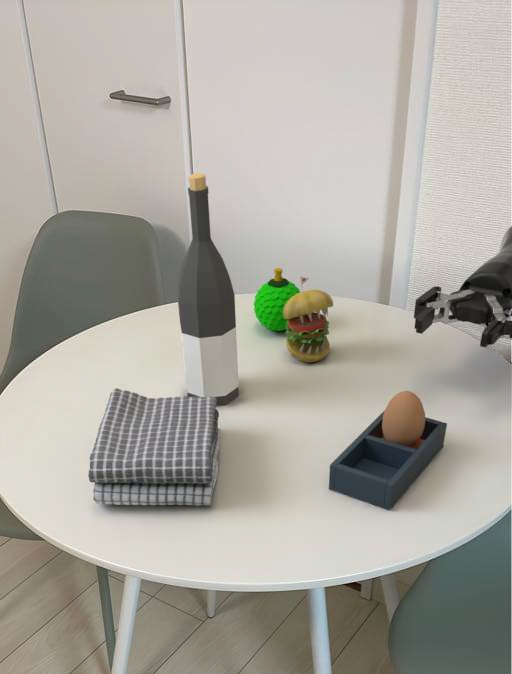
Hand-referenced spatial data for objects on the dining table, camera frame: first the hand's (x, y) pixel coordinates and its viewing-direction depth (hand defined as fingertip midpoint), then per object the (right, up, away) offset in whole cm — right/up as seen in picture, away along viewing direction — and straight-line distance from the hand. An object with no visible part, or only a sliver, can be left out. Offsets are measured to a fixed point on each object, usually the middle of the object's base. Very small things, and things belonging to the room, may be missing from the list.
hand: (450, 333), depth 95 cm
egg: (-6, -15, +1) cm, 16 cm away
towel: (-37, -17, +2) cm, 41 cm away
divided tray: (-8, -17, -1) cm, 19 cm away
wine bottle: (-30, -5, +16) cm, 34 cm away
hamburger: (-15, +3, +23) cm, 27 cm away
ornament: (-19, +9, +31) cm, 37 cm away
